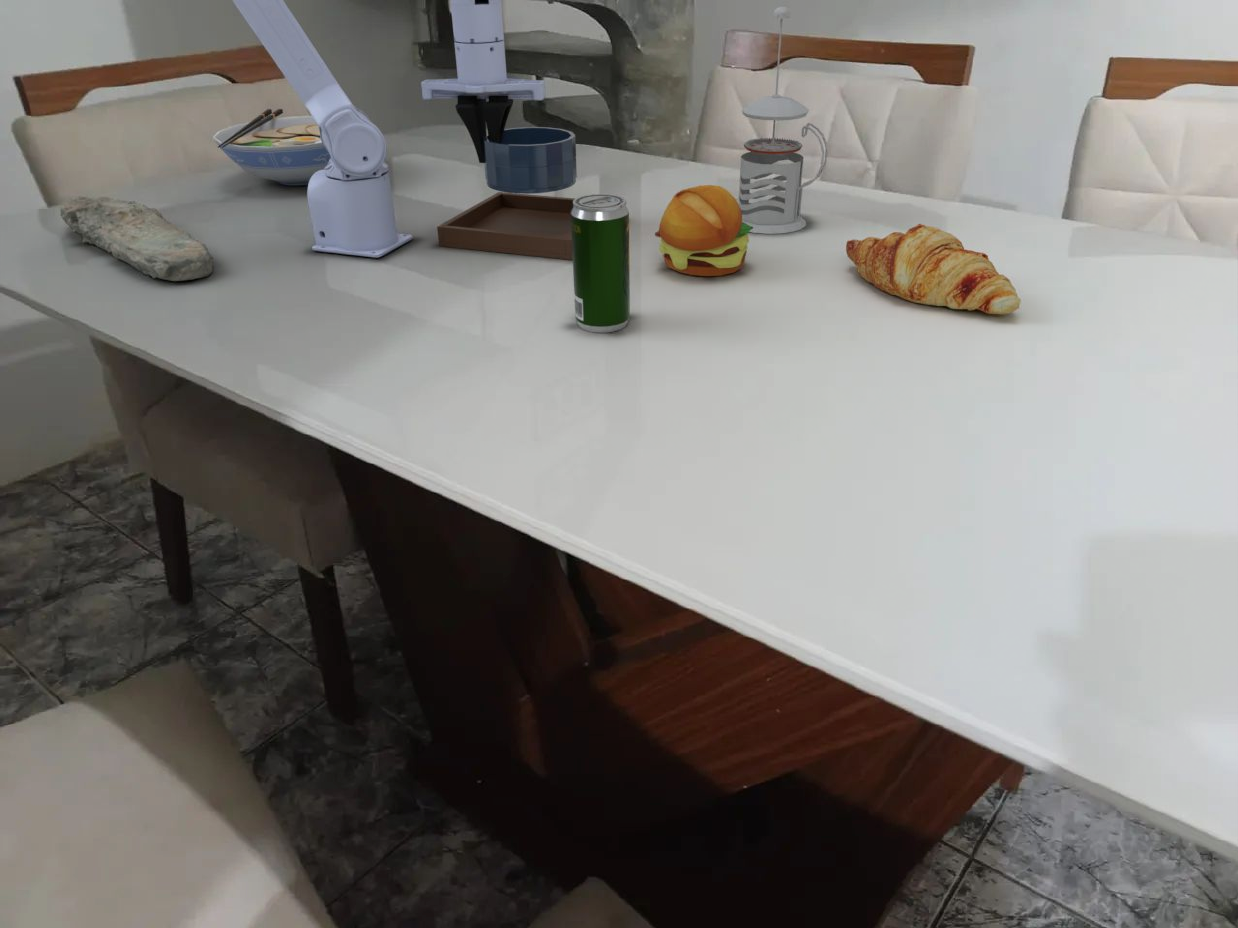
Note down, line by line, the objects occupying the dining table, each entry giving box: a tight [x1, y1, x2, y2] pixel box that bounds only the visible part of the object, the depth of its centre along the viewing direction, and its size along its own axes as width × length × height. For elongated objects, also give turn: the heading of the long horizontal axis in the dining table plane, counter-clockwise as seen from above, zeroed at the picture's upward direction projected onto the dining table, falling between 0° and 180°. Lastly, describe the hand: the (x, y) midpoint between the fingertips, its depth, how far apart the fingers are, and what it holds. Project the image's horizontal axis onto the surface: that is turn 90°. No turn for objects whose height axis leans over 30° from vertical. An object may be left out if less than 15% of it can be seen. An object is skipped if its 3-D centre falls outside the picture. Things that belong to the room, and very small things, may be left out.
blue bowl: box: [482, 126, 578, 195], centre depth 114 cm, size 11×11×6 cm
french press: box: [737, 6, 829, 235], centre depth 113 cm, size 10×12×25 cm
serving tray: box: [436, 191, 576, 261], centre depth 117 cm, size 18×17×2 cm
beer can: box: [571, 193, 631, 334], centre depth 89 cm, size 5×5×12 cm
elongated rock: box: [59, 195, 214, 282], centre depth 113 cm, size 35×5×10 cm
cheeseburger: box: [654, 184, 753, 277], centre depth 103 cm, size 10×11×10 cm
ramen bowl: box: [212, 108, 331, 186], centre depth 140 cm, size 25×23×8 cm
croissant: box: [845, 223, 1021, 315], centre depth 96 cm, size 21×10×8 cm, turn 39°
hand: (489, 161), depth 115 cm, fingers closed on blue bowl
